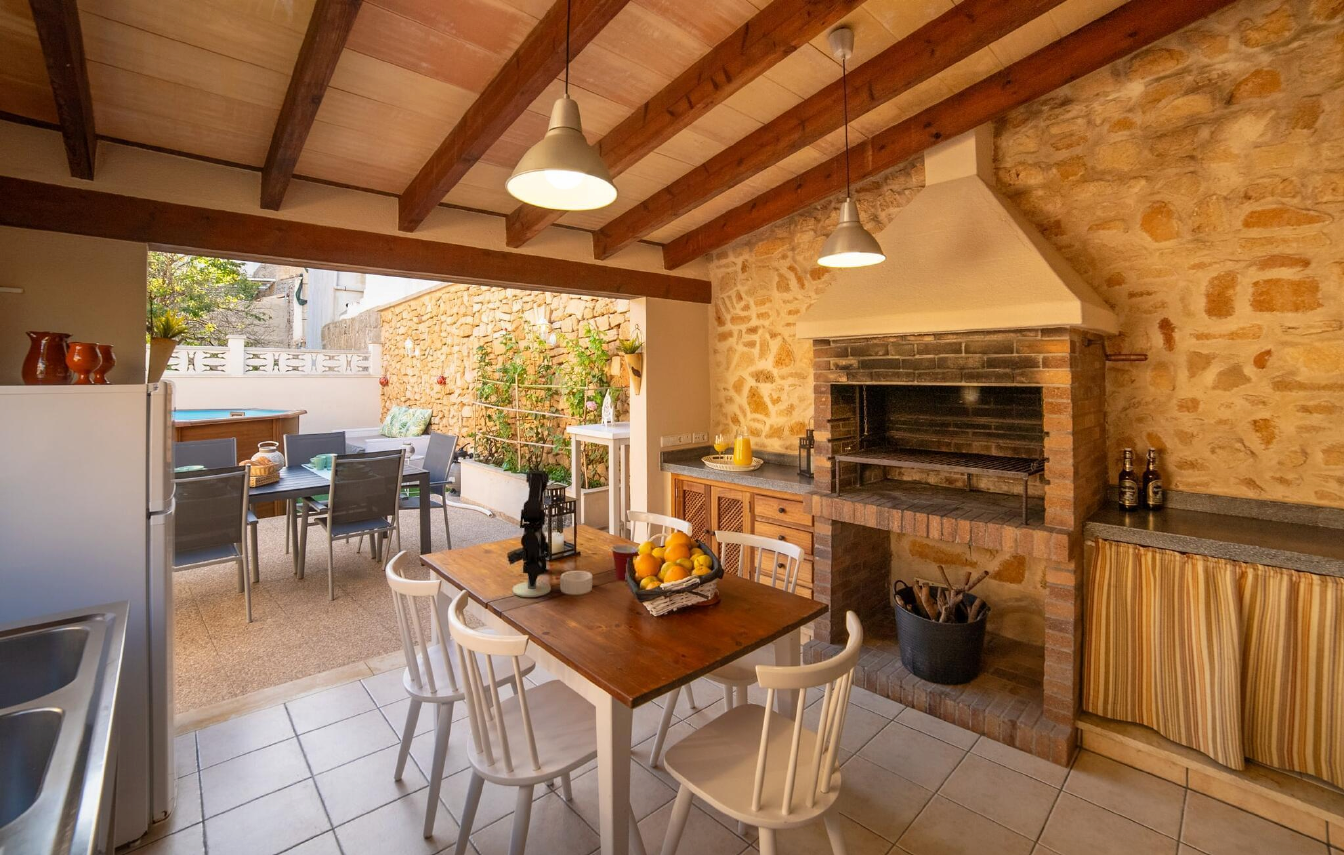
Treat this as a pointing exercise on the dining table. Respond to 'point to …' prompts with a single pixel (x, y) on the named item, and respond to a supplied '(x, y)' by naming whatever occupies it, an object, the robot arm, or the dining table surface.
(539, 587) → the lid
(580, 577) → the bowl
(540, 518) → the robot arm
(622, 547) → the plastic cup
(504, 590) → the dining table surface
